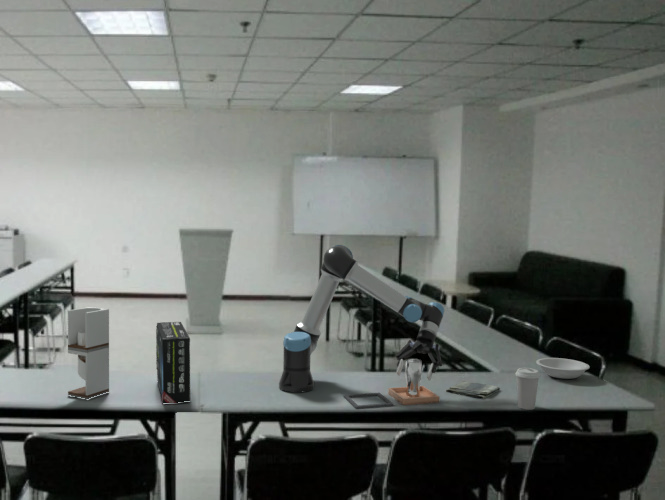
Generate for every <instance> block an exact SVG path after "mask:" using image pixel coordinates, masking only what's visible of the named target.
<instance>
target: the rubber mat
mask: <svg viewBox="0 0 665 500" xmlns="http://www.w3.org/2000/svg"><path fill="white" fill-rule="evenodd" d="M342 397H343V398H344V399H345V400H346V401H347V402H348V403H349V404H350V405H351V406H352V407H353V408H354V409H356V410H357V409H370V408H373V409H374V408H382V407H383V408H384V407H394V406H395V405H394V403H393V402H392V401H391V400H389V399H388V398H387V396H385V395H383V394H382V393H381V392H370V393H369V392H367V393H355V394H354V393H353V394H343V395H342ZM350 397H351V398H350ZM361 397H362V398H365V397H366V398H367V397H378V398H379V399H381V400H382V401H383V402H384V403H371V404H357V403H356V402H355V400H353V399H352V398H361Z"/></svg>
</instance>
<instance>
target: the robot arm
mask: <svg viewBox="0 0 665 500" xmlns="http://www.w3.org/2000/svg"><path fill="white" fill-rule="evenodd" d="M322 260H323V262H322V265H321V267H320V272H321V275H320V277H319V280H318V282H317V285H316V288H315V289H314V292H313V294H312V296H311V299H310V302H309V303H308V306H307V309H306V310H305V313H304V315H303V318H302V320H301V321H299V322H298V323H296V326H295V328H294V331H292V332H289V333H286V335H284V337H283V361H282V363H283V367H282V368H283V371H282V373H281V376H280V379H279V383H278V389H279V388H280V389H279V390H281V389H282V390H281V391H283V390H285V391H284V392H286V391H291V392H290V393H303V392H302V391H307V392H310V391H309V390H311V391H313V390H314V389H313V388H315V382H314V379H313V376H312V372H311V356H312V353H313V352H314V351H315V350H316V348H317V344H318V341H319V339H320V336H321V334H322V333H321V330H320V328H321V326H322V323H323V321H324V319H325V316H326V314H327V312H328V309H329V307H330V305H331V302H332V300H333V298H334V296H335V294H336V291H337V288H338V286H339V284H340V282H342V281H350V282H351V283H353V284H354V285H356V286H357V287H359V288H360V289H362V290H364V292H366V293H367V294H369V295H370V296H372V297H373V298H375V299H376V300H378V301H380V302H381V303H383V304H384V305H385V306H387V307H388V308H390V309H392V310H393V311H395V312H396V313H397V314H399V315H400V316H402V317H403V318H404V319H405V320H406V321H407V322H409V323H417V322H418V321H419V320H420V321H422V323H421V324H420V328H419V331H418V334H417V337H416V339H415V341H412V340H411V339H409V340H408V341H407V342H406V343H407V344H405V345H404V346H403V348H401V350H399V351H398V353H397V354H395V358H396V360H397V364H396V366H397V368H396V371H395V372H396V374H397V376H400V375H401V373H402V370H403V368H404V364H405V361H406V360H407V359H410V357H412V356H413V355H415V354H416V355H417V353H418V354H423V355H426V354H428V356H429V358H430V360H431V362H432V363H431V364H430V366H429V370H428V373H427V376H426V378H427V380H428V381H431V380H432V376H433V374H435V373H436V371H437V368H438V367H442V366H443V362H442V358H441V355H440V354H441V353H440V351H441V350H440V349H441V348H440V345H439V343H436V344H435V341H436V339H437V338H436V337H437V335H438V332H439V329H440V325H441V323H442V320H443V317H444V313H445V307H444V305H442V304H441V303H439V302H435V301H432V302H429V304H427V303H425V302H422V301H419V300H417V299H415V298H413V297H411V296H408V295H404V294H402V293H401V292H400V291H398V290H397V289H395V288H393V287H392V286H390V285H389V284H388V283H386V282H384V281H383V280H382V279H380V278H378V277H377V276H375V275H374V274H372V273H371V272H369V271H368V270H366V269H365V268H363V267H362V266H361V265H359V263H358V261H357V260H355V259H354V255H353V252H352V251H351V249H349V248H348V246H346V245H342V244H336V245H333V246H331V247H329V248H328V249H327V250H326V251H325V253H324V255H323V259H322ZM432 350H434V351H435V355H436V359H437V361H436V359H435V357H434V355H433V354H432V352H431V351H432ZM312 389H313V390H312Z"/></svg>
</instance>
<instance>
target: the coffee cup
mask: <svg viewBox="0 0 665 500" xmlns="http://www.w3.org/2000/svg"><path fill="white" fill-rule="evenodd" d="M514 374H515V376H516V389H517V390H516V392H517V393H516V394H517V397H516V398H517V407H518V408H519V409H523V410H527V411H529V410H531V411H532V410H534V409H535V408H536V401H537V393H538V387H539V379H540V378H541V375H540V373H539V370H538V369H535V368H531V367H520V368H517V370H516V372H515V373H514Z"/></svg>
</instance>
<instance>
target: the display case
mask: <svg viewBox="0 0 665 500" xmlns="http://www.w3.org/2000/svg"><path fill="white" fill-rule="evenodd" d="M67 354H72V355H77V374H78V376H79V377H80V378H81V379H82V380H84V381H85V386H83V387H82V386H81V387H78V388H75V389H71V390H69V391H67V396H68V395H71V396H75V397H81V398H85V399H89V398H91V397H94V396H97V395H100V394H103V393H106V392H109V393H110V309H109V308H101V307H95V306H88V307H82V308H75V309H69V310H67Z"/></svg>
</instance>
